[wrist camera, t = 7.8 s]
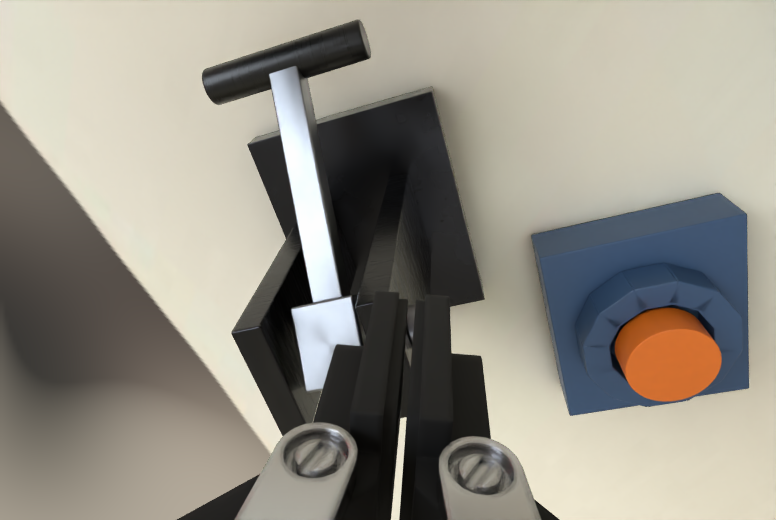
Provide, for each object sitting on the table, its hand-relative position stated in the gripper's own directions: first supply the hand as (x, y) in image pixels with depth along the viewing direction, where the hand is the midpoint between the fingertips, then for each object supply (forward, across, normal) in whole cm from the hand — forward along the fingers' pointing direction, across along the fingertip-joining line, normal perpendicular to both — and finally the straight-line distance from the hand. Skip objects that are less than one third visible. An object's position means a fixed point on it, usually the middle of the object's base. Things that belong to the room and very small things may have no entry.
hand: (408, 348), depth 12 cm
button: (+12, -12, +7) cm, 18 cm away
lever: (+8, +3, 0) cm, 9 cm away
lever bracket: (+16, +2, +3) cm, 17 cm away
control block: (+16, -12, +7) cm, 21 cm away
